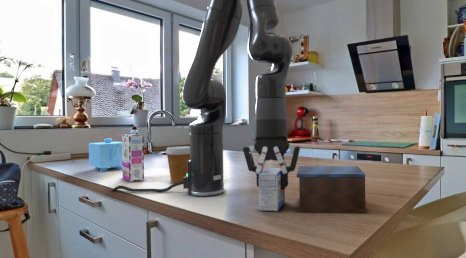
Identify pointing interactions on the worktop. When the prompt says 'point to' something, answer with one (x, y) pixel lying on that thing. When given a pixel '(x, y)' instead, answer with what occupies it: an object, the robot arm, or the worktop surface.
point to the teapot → (105, 155)
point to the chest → (332, 194)
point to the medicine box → (271, 190)
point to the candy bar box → (133, 157)
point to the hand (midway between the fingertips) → (272, 188)
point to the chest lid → (330, 171)
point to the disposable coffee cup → (178, 162)
